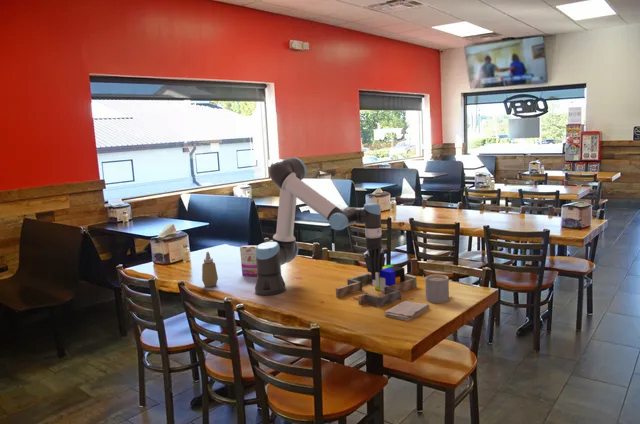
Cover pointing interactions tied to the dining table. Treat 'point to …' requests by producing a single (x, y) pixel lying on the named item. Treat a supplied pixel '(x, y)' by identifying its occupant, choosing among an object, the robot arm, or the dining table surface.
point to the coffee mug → (437, 288)
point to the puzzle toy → (390, 276)
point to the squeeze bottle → (209, 271)
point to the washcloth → (406, 310)
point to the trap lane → (390, 295)
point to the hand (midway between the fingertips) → (375, 285)
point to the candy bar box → (248, 260)
